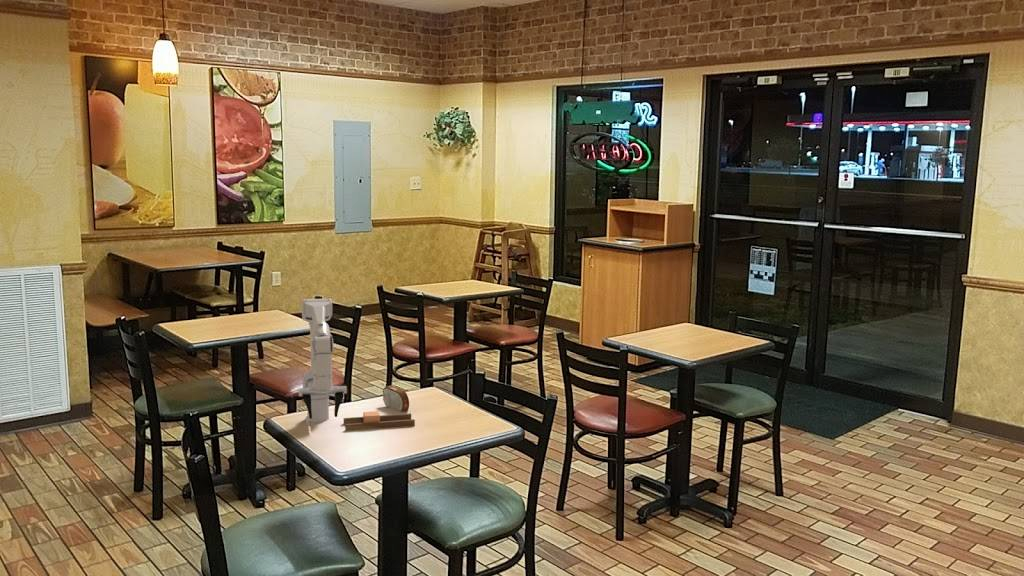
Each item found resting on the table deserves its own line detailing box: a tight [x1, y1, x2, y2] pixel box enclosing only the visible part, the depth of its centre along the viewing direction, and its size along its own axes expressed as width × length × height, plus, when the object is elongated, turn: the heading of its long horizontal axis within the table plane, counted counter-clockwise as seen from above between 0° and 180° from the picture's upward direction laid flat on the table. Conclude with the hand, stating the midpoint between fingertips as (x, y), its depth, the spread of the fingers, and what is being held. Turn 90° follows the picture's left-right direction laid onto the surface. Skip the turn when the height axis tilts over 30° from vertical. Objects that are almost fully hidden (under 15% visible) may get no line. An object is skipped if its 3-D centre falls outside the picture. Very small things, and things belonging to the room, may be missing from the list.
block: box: [362, 410, 381, 423], centre depth 276 cm, size 5×5×4 cm
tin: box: [382, 385, 410, 412], centre depth 297 cm, size 15×3×8 cm, turn 39°
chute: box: [343, 412, 416, 432], centre depth 277 cm, size 8×23×3 cm, turn 107°
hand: (323, 416), depth 254 cm, fingers open, 7 cm apart
